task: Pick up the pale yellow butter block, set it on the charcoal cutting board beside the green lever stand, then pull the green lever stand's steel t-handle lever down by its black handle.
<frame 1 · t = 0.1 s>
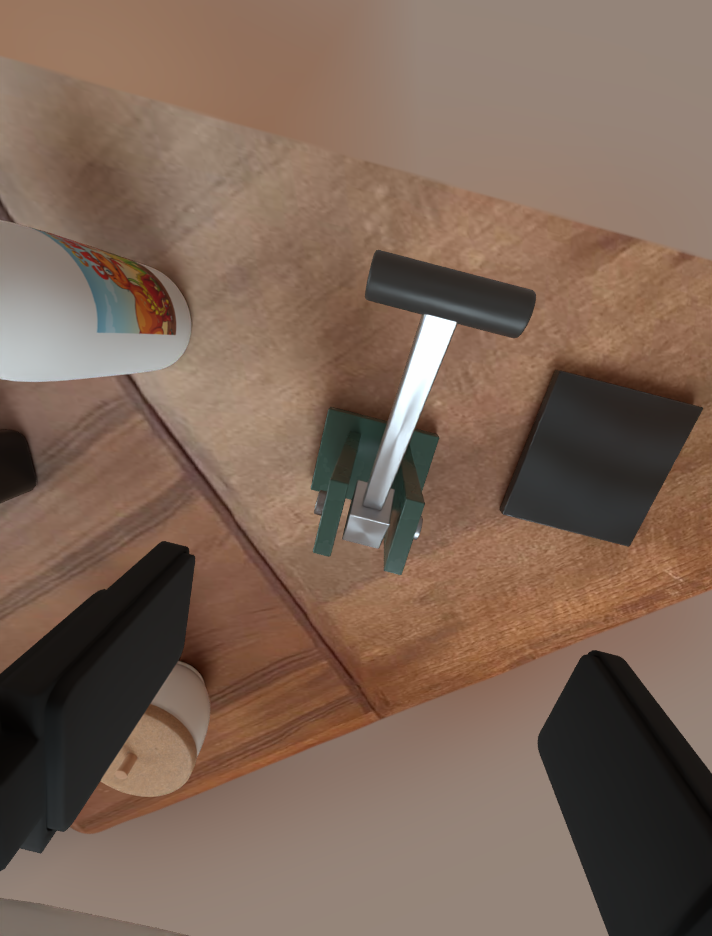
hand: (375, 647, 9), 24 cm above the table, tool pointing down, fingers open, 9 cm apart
green lever stand: (373, 460, 33), on the table
milk bottle: (148, 320, 30), on the table
wine bottle: (7, 458, 35), on the table
trinket box: (178, 681, 42), on the table
board: (590, 460, 31), on the table
t-handle lever: (394, 442, 17), point 14 cm above the table, hinge at 32.0°
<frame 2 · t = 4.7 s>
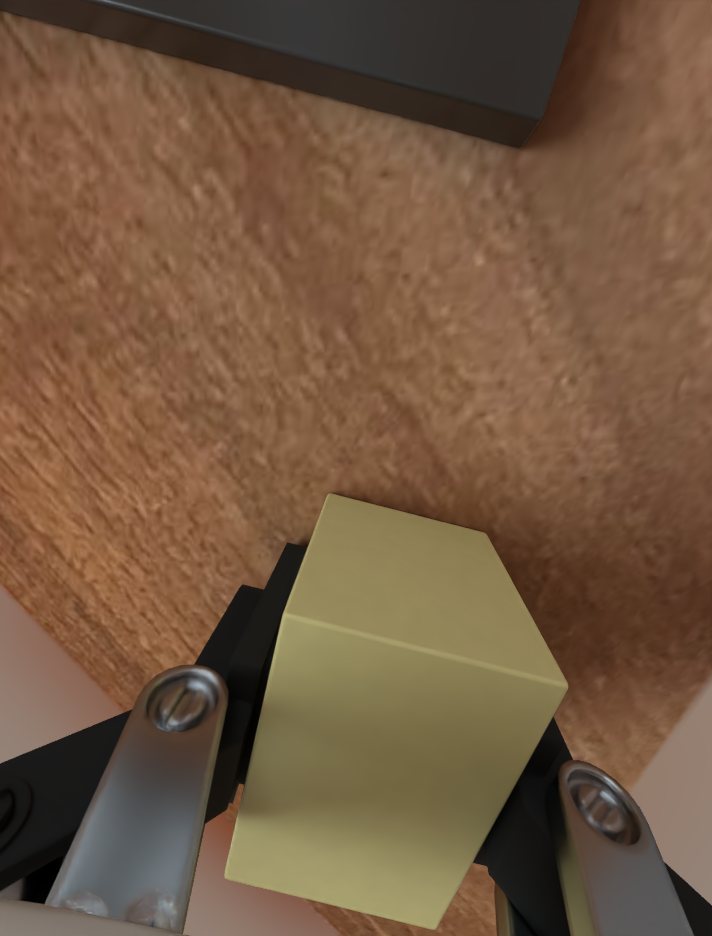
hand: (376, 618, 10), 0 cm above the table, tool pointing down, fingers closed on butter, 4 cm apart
butter: (376, 611, 10), on the table, touching gripper
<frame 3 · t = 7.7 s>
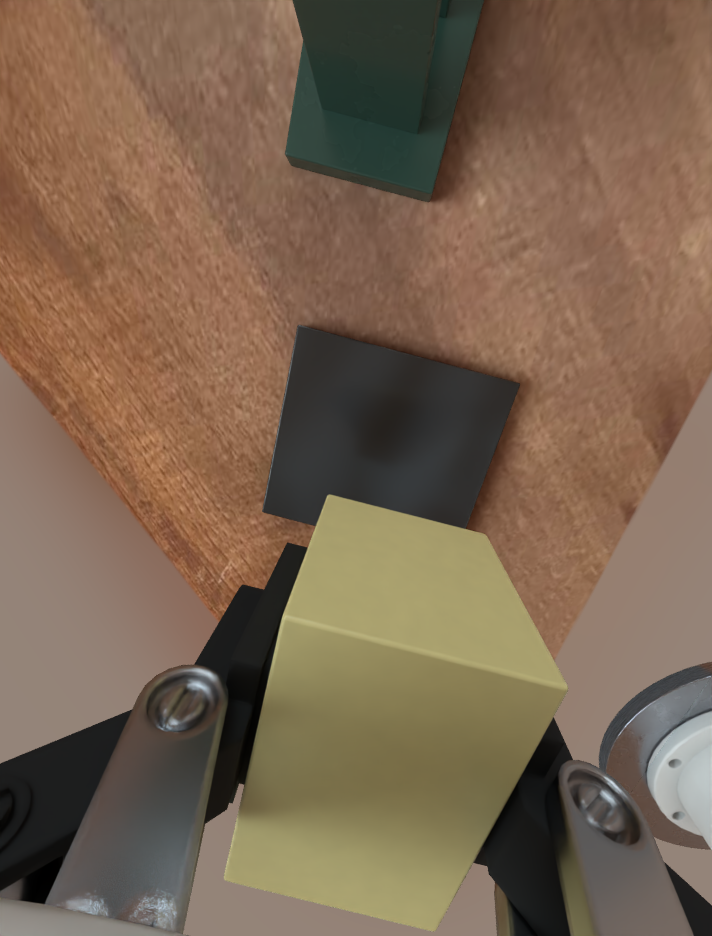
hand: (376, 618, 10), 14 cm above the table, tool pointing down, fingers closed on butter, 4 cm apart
green lever stand: (384, 70, 17), on the table
butter: (376, 612, 10), point 13 cm above the table, touching gripper
board: (381, 448, 23), on the table
when the fingers open (1 cm above the table, at t = 10.8 s): butter stays where it is, resting on board.
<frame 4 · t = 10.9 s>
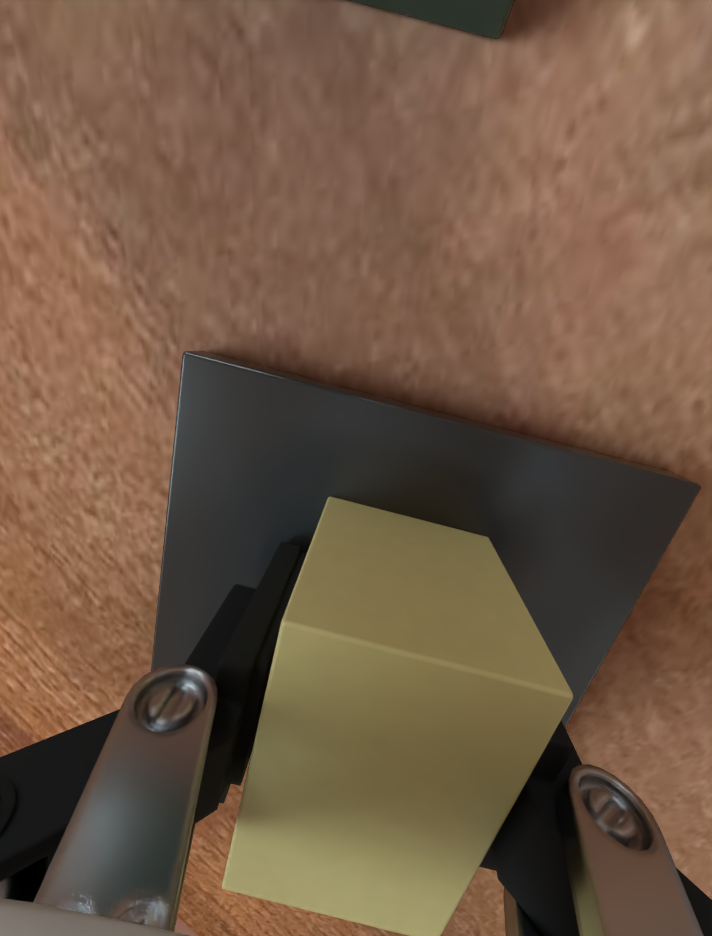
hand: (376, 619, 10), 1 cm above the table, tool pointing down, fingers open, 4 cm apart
butter: (377, 615, 10), point 1 cm above the table, touching board
board: (380, 594, 11), on the table
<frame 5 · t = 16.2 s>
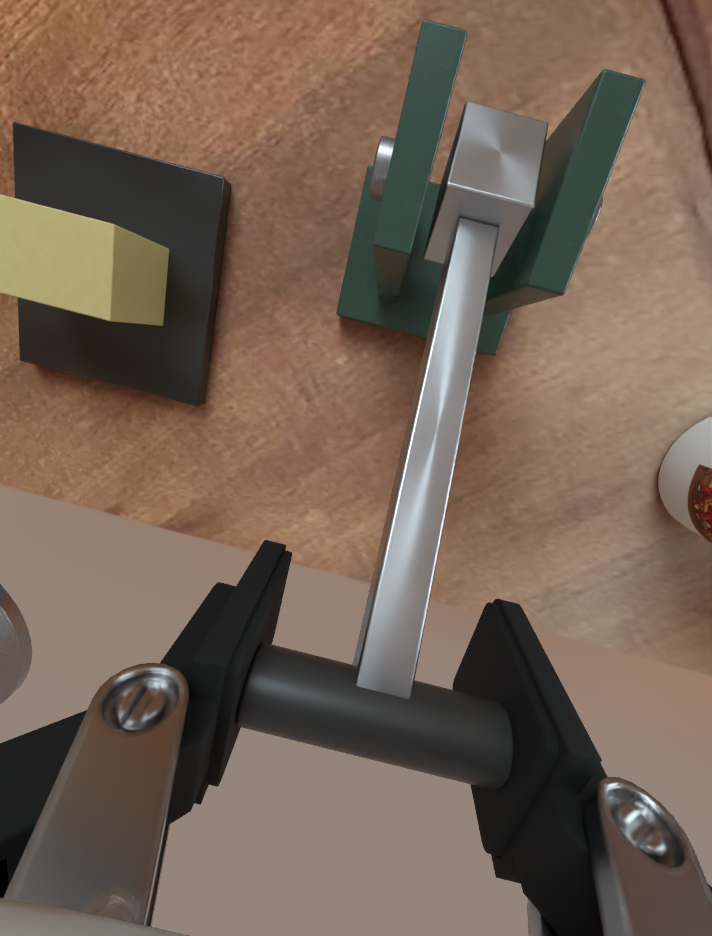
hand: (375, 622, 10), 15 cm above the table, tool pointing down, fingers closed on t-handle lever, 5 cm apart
green lever stand: (432, 269, 21), on the table
butter: (113, 274, 21), point 1 cm above the table, touching board
board: (124, 279, 22), on the table
t-handle lever: (439, 396, 9), point 14 cm above the table, hinge at 32.0°, touching gripper
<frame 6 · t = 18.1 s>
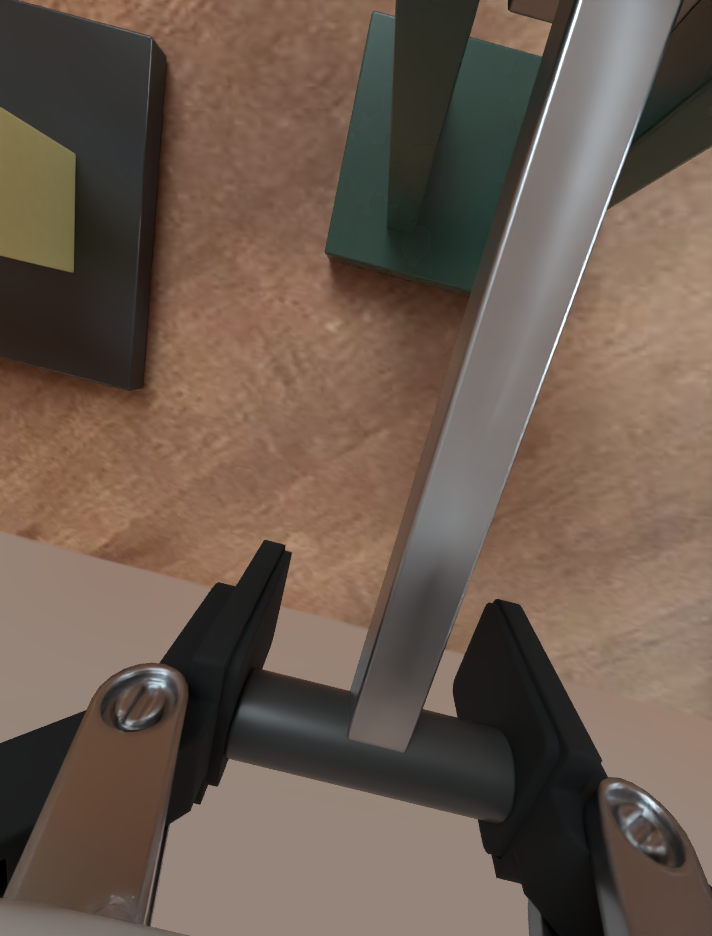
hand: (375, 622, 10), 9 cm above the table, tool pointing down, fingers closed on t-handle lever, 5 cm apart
green lever stand: (466, 188, 14), on the table
board: (20, 207, 15), on the table
t-handle lever: (491, 375, 5), point 11 cm above the table, hinge at 3.1°, touching gripper
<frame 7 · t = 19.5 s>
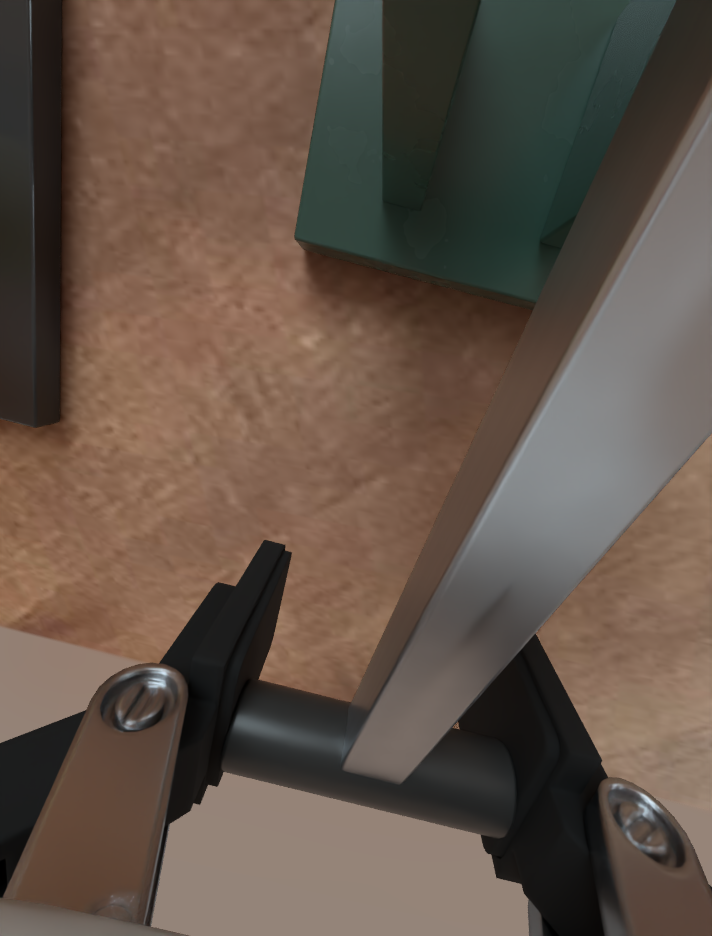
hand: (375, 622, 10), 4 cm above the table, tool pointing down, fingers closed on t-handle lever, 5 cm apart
green lever stand: (496, 146, 10), on the table
t-handle lever: (560, 447, 3), point 9 cm above the table, hinge at -17.4°, touching gripper
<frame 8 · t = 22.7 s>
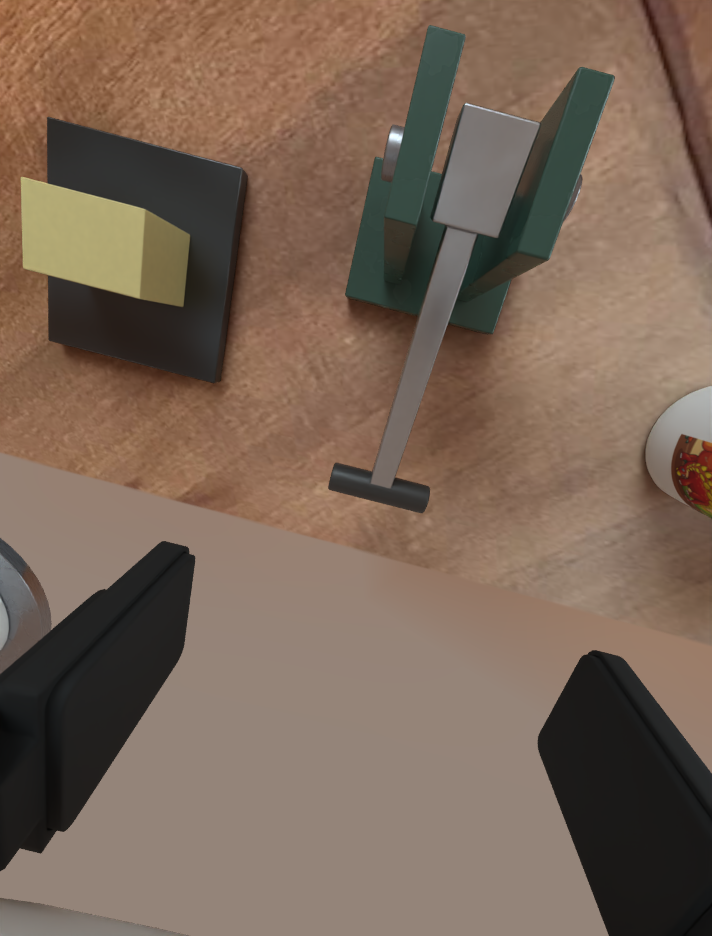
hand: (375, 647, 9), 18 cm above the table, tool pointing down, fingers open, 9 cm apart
green lever stand: (434, 254, 23), on the table
milk bottle: (701, 442, 25), on the table
butter: (138, 259, 23), point 1 cm above the table, touching board
board: (147, 264, 24), on the table
t-handle lever: (419, 361, 16), point 9 cm above the table, hinge at -17.4°
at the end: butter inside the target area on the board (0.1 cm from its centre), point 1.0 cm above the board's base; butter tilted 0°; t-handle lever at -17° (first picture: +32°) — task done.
